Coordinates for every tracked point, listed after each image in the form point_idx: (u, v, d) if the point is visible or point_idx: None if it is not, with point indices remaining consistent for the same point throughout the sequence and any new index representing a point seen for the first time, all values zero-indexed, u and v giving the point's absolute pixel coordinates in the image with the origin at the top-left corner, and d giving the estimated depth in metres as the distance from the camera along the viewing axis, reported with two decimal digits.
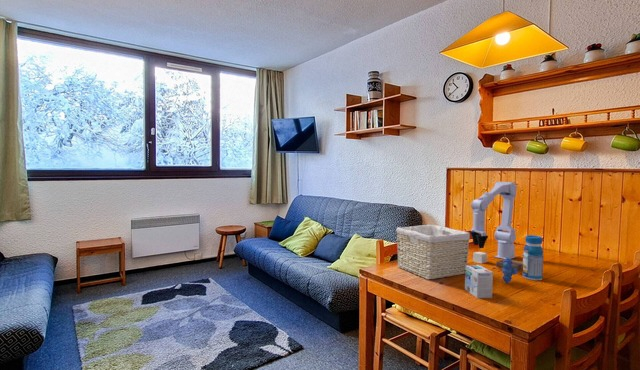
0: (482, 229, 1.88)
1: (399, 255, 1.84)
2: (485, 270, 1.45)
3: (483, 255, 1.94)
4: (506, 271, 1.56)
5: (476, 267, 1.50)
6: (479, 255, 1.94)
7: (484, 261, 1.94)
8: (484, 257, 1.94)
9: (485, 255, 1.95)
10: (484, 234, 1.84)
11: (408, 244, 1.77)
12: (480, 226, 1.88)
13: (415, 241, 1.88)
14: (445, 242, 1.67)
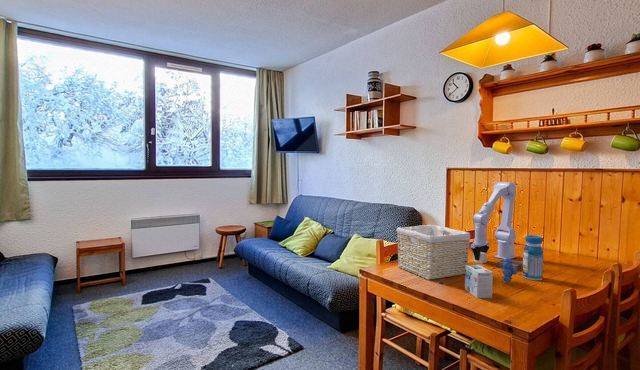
0: (479, 242, 1.93)
1: (399, 255, 1.84)
2: (485, 270, 1.45)
3: (483, 255, 1.94)
4: (506, 271, 1.56)
5: (476, 267, 1.50)
6: None
7: (484, 261, 1.94)
8: (484, 257, 1.94)
9: (485, 255, 1.95)
10: (472, 246, 1.92)
11: (408, 244, 1.77)
12: (477, 239, 1.94)
13: (415, 241, 1.88)
14: (445, 242, 1.67)
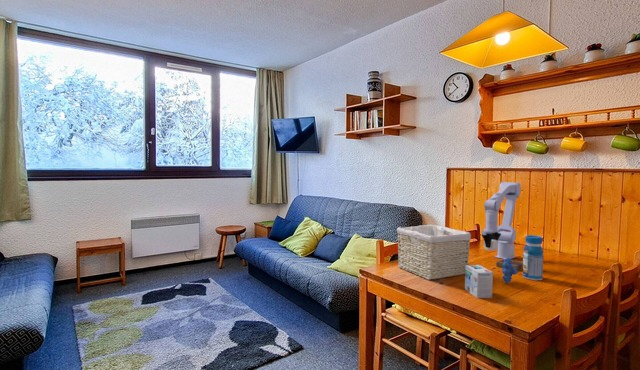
0: (490, 229, 1.89)
1: (400, 255, 1.84)
2: (485, 270, 1.45)
3: (494, 242, 1.89)
4: (506, 271, 1.56)
5: (476, 267, 1.50)
6: None
7: (495, 248, 1.90)
8: (495, 244, 1.90)
9: (496, 242, 1.91)
10: (483, 233, 1.88)
11: (409, 244, 1.77)
12: (488, 226, 1.90)
13: (416, 241, 1.88)
14: (446, 242, 1.66)
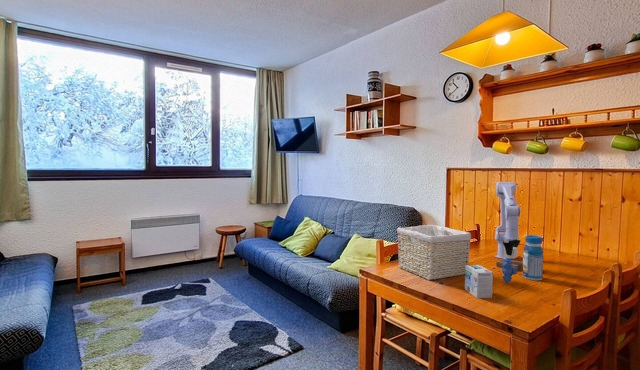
0: (511, 236, 1.83)
1: (400, 255, 1.84)
2: (485, 270, 1.45)
3: (515, 249, 1.83)
4: (506, 271, 1.56)
5: (476, 267, 1.50)
6: None
7: (516, 256, 1.84)
8: (516, 251, 1.84)
9: (516, 249, 1.85)
10: (505, 240, 1.80)
11: (409, 244, 1.77)
12: (509, 233, 1.83)
13: (416, 241, 1.88)
14: (446, 242, 1.66)
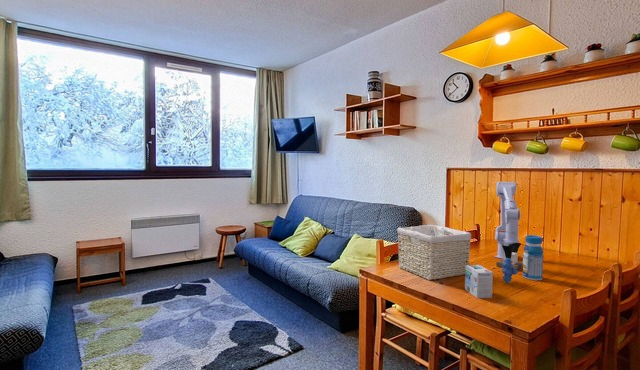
0: (511, 239, 1.83)
1: (400, 255, 1.84)
2: (485, 270, 1.45)
3: (515, 255, 1.83)
4: (506, 271, 1.56)
5: (476, 267, 1.50)
6: (511, 255, 1.83)
7: (515, 261, 1.84)
8: (515, 257, 1.84)
9: (516, 255, 1.85)
10: (505, 244, 1.81)
11: (409, 244, 1.77)
12: (509, 236, 1.83)
13: (416, 241, 1.88)
14: (446, 242, 1.66)
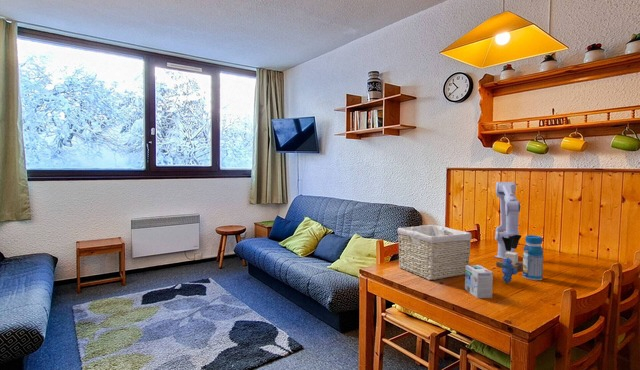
0: (511, 231, 1.82)
1: (400, 255, 1.84)
2: (485, 270, 1.45)
3: (515, 255, 1.83)
4: (506, 271, 1.56)
5: (476, 267, 1.50)
6: (512, 255, 1.83)
7: (516, 261, 1.84)
8: (516, 257, 1.84)
9: (517, 255, 1.85)
10: (506, 236, 1.80)
11: (409, 244, 1.77)
12: (509, 228, 1.83)
13: (416, 241, 1.88)
14: (447, 242, 1.66)
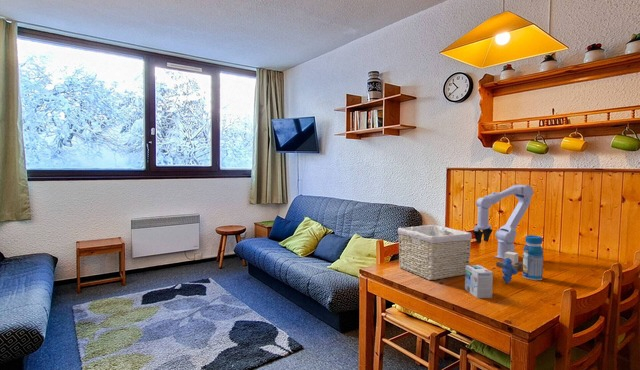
0: (481, 225, 1.99)
1: (400, 255, 1.84)
2: (485, 270, 1.45)
3: (515, 255, 1.83)
4: (506, 271, 1.56)
5: (476, 267, 1.50)
6: (511, 255, 1.83)
7: (516, 261, 1.84)
8: (516, 257, 1.84)
9: (517, 255, 1.85)
10: (475, 229, 1.98)
11: (410, 244, 1.76)
12: (479, 222, 2.00)
13: (417, 241, 1.87)
14: (447, 242, 1.66)
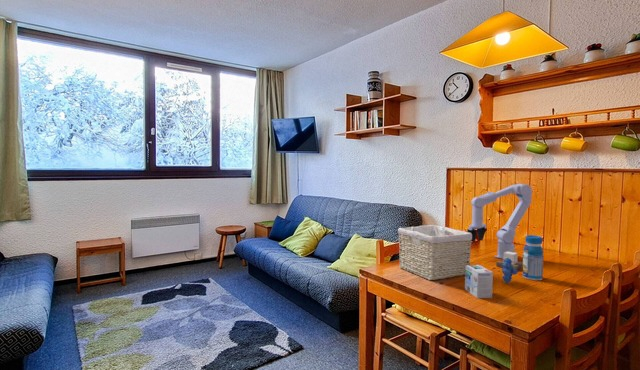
0: (476, 224, 2.03)
1: (401, 256, 1.83)
2: (485, 270, 1.45)
3: (515, 255, 1.84)
4: (506, 271, 1.56)
5: (476, 267, 1.50)
6: (511, 255, 1.84)
7: (515, 261, 1.85)
8: (515, 257, 1.84)
9: (516, 255, 1.85)
10: (469, 228, 2.01)
11: (410, 244, 1.76)
12: (474, 221, 2.04)
13: (417, 241, 1.87)
14: (447, 242, 1.66)
